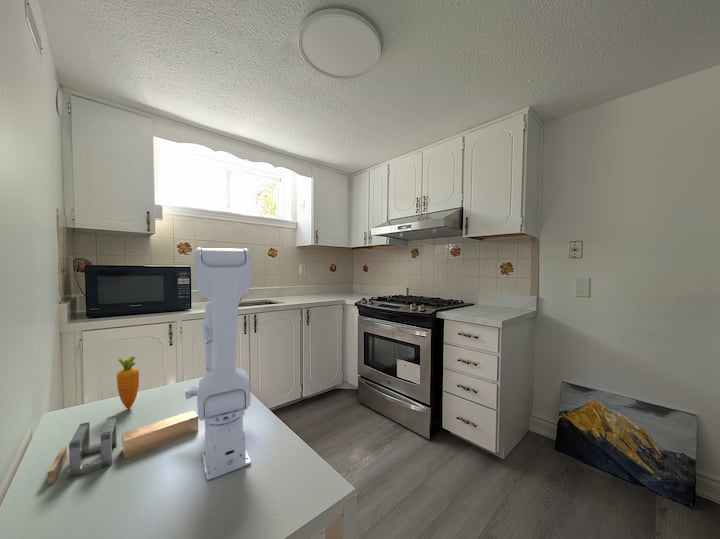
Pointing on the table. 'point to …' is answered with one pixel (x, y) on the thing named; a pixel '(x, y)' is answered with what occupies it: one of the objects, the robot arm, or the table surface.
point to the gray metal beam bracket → (91, 448)
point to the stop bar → (57, 465)
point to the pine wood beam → (158, 433)
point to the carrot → (128, 382)
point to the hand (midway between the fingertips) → (219, 418)
